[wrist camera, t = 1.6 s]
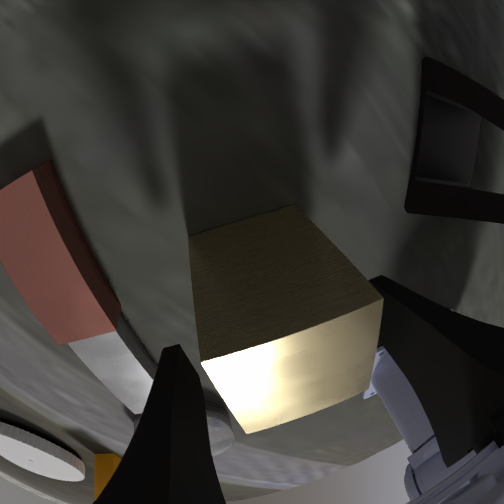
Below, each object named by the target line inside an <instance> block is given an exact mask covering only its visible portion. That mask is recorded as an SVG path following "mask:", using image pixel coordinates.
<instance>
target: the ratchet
mask: <svg viewBox="0 0 504 504" xmlns="http://www.w3.org/2000/svg"><path fill="white" fill-rule="evenodd" d="M0 261H1V263H2V264H3V266H4V268H5V270H6V271H7V273H8V275H9V276H10V278H11V280H12V281H13V283H14V285H15V286H16V288H17V289H18V291H19V292H20V294H21V295H22V297H23V298H24V300H25V301H26V303H27V304H28V306H29V307H30V309H31V310H32V312H33V313H34V314H35V316H36V317H37V319H38V320H39V321H40V323H41V324H42V325H43V327H44V328H45V329H46V330H47V332H48V333H49V334H50V336H51V337H52V338H53V339H54V341H55V342H56V343H57V344H58V345H62V344H66V343H68V344H69V346H70V347H71V348H72V349H73V351H74V352H75V353H76V354H77V355H78V356H79V358H80V359H81V360H82V361H83V362H84V363H85V364H86V366H87V367H88V368H89V369H90V370H91V371H92V372H93V373H94V374H95V376H96V377H97V378H98V379H99V380H100V381H101V382H102V383H103V384H104V385H105V386H106V387H107V388H108V389H109V390H110V391H111V392H112V393H113V394H114V395H115V396H116V397H117V398H118V399H119V400H120V401H121V402H122V403H123V404H124V405H125V406H126V407H128V408H129V409H130V410H131V411H132V412H133V413H134V414H135V416H134V433H135V430H136V428H137V425H138V423H139V420H140V418H141V415H142V412H143V410H144V407H145V404H146V401H147V398H148V395H149V392H150V389H151V386H152V383H153V380H154V377H155V373H156V370H157V366H156V365H155V363H154V362H153V360H152V359H151V358H150V356H149V355H148V354H147V352H146V351H145V349H144V348H143V347H142V345H141V344H140V342H139V341H138V339H137V338H136V336H135V335H134V333H133V332H132V331H131V329H130V328H129V326H128V324H127V323H126V321H125V320H124V318H123V317H122V315H121V314H120V310H121V304H120V303H119V301H118V299H117V298H116V296H115V294H114V293H113V291H112V289H111V287H110V286H109V284H108V282H107V280H106V279H105V277H104V275H103V273H102V271H101V270H100V268H99V266H98V264H97V262H96V260H95V258H94V256H93V254H92V253H91V251H90V249H89V247H88V245H87V243H86V241H85V239H84V237H83V234H82V232H81V230H80V228H79V226H78V224H77V222H76V220H75V217H74V215H73V213H72V211H71V208H70V206H69V204H68V201H67V199H66V197H65V194H64V192H63V189H62V187H61V184H60V182H59V179H58V177H57V174H56V171H55V169H54V166H53V163H52V160H49V161H48V162H46V163H44V164H42V165H40V166H39V167H37V168H35V169H33V170H32V171H30V172H28V173H26V174H25V175H23V176H21V177H20V178H18V179H17V180H15V181H13V182H12V183H10V184H9V185H7V186H6V187H4V188H3V189H1V190H0ZM205 407H206V416H207V424H208V432H209V440H210V447H211V453H212V456H214V455H217V454H220V453H222V452H224V451H226V450H227V449H229V448H230V447H231V446H232V445H233V443H234V440H235V439H234V434H233V430H232V426H231V421H230V417H229V414H228V412H227V411H226V410H225V409H224V408H222V407H220V406H219V405H216V404H214V403H211V402H207V401H205Z"/></svg>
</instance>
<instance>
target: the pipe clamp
mask: <svg viewBox="0 0 504 504" xmlns="http://www.w3.org/2000/svg"><path fill="white" fill-rule="evenodd" d="M121 459H122V458H120V457H119V456H117V455H115V454H114V453H109V454H95V476H94V483H95V500H96V499H97V498H98V496H99V495H100V493H101V492H102V490H103V489H104V487H105V486H106V484H107V483H108V481H109V480H110V478H111V477H112V475H113V474H114V472H115V470H116V469H117V467H118V465H119V463H120V461H121Z"/></svg>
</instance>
